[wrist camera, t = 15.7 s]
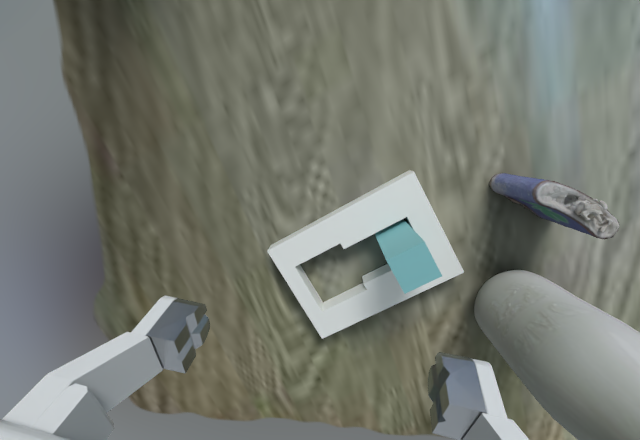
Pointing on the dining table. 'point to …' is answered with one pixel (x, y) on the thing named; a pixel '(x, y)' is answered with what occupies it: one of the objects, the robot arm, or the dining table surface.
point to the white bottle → (565, 354)
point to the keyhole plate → (351, 227)
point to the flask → (558, 204)
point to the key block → (407, 256)
